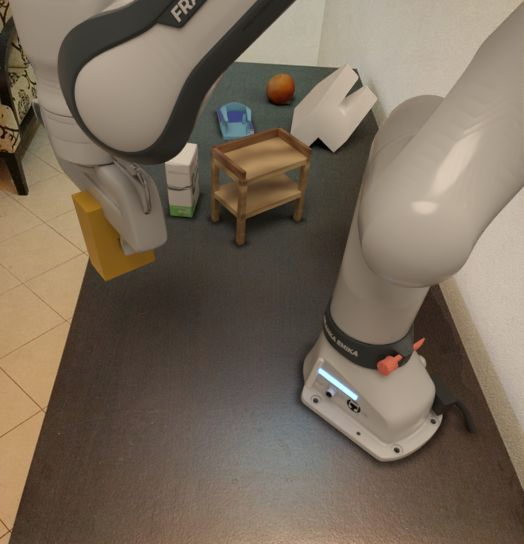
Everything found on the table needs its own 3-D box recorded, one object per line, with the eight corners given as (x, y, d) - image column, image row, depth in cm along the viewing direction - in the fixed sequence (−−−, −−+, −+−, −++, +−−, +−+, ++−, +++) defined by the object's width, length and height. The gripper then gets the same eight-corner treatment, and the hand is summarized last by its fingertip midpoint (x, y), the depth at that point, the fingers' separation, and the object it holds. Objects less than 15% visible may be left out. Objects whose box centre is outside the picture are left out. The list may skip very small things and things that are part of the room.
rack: (301, 219, 99) (312, 149, 87) (239, 245, 92) (242, 172, 80) (271, 196, 103) (279, 126, 91) (211, 219, 97) (210, 146, 85)
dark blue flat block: (254, 129, 119) (247, 107, 126) (222, 129, 117) (216, 107, 125) (254, 135, 120) (246, 112, 127) (222, 135, 118) (216, 113, 126)
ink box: (192, 218, 96) (190, 165, 87) (169, 215, 96) (163, 162, 87) (199, 195, 102) (198, 142, 93) (177, 192, 102) (173, 139, 93)
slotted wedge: (321, 163, 120) (378, 111, 109) (290, 133, 115) (346, 75, 104) (323, 137, 129) (376, 86, 117) (294, 108, 124) (346, 52, 112)
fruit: (301, 103, 130) (289, 75, 124) (275, 116, 133) (262, 89, 127) (300, 91, 135) (288, 63, 129) (275, 103, 138) (263, 77, 132)
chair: (221, 168, 109) (221, 116, 100) (216, 150, 114) (216, 98, 105) (253, 167, 110) (257, 115, 101) (247, 149, 115) (250, 98, 106)
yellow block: (155, 260, 61) (144, 192, 53) (105, 281, 58) (86, 212, 50) (140, 244, 63) (128, 176, 55) (91, 263, 60) (70, 194, 52)
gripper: (175, 165, 43) (186, 276, 54) (80, 83, 53) (105, 192, 64) (112, 185, 41) (136, 298, 51) (24, 95, 50) (60, 206, 61)
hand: (118, 239), depth 58 cm, fingers closed on yellow block, 4 cm apart
